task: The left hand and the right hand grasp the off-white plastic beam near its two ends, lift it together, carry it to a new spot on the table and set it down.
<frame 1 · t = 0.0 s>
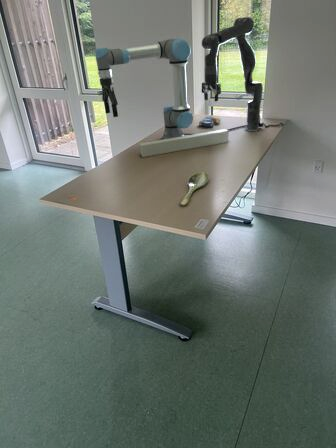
left hand: (111, 114, 206), 28 cm above the table, tool pointing down, fingers open, 13 cm apart
right hand: (211, 100, 212), 29 cm above the table, tool pointing down, fingers open, 8 cm apart
beam: (185, 148, 227), on the table
spoon: (193, 190, 170), on the table
spray gun: (210, 124, 273), on the table
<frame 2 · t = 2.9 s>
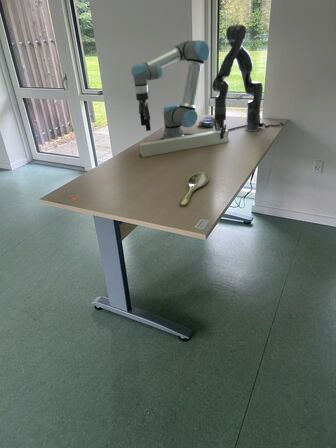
left hand: (145, 127, 212), 18 cm above the table, tool pointing down, fingers open, 13 cm apart
right hand: (220, 137, 231), 3 cm above the table, tool pointing down, fingers closed on beam, 5 cm apart
beam: (185, 148, 227), on the table, touching right hand
everything else where it was.
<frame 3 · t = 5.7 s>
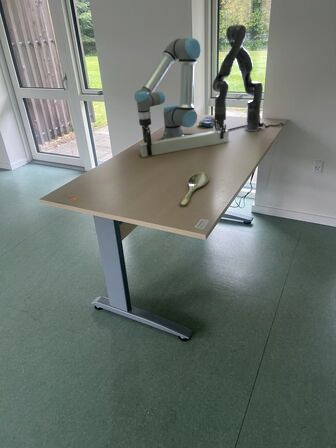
left hand: (148, 153, 221), 1 cm above the table, tool pointing down, fingers closed on beam, 5 cm apart
right hand: (220, 137, 231), 3 cm above the table, tool pointing down, fingers closed on beam, 5 cm apart
beam: (185, 148, 227), on the table, touching left hand, right hand
everything else where it was.
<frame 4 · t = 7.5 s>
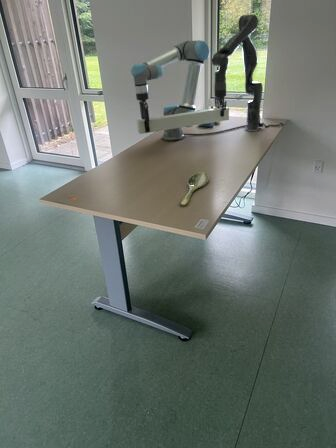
left hand: (146, 130, 214), 16 cm above the table, tool pointing down, fingers closed on beam, 5 cm apart
right hand: (220, 115, 223), 18 cm above the table, tool pointing down, fingers closed on beam, 5 cm apart
beam: (184, 125, 219), point 15 cm above the table, touching left hand, right hand
everything else where it was.
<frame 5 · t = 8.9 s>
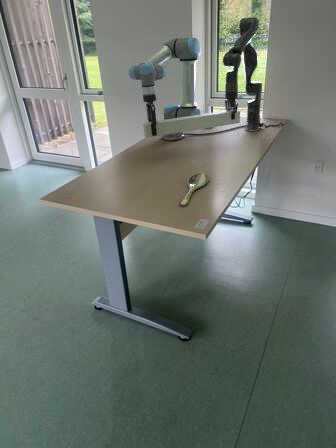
left hand: (153, 134, 202), 17 cm above the table, tool pointing down, fingers closed on beam, 5 cm apart
right hand: (231, 118, 212), 19 cm above the table, tool pointing down, fingers closed on beam, 5 cm apart
beam: (193, 129, 208), point 16 cm above the table, touching left hand, right hand
everything else where it was.
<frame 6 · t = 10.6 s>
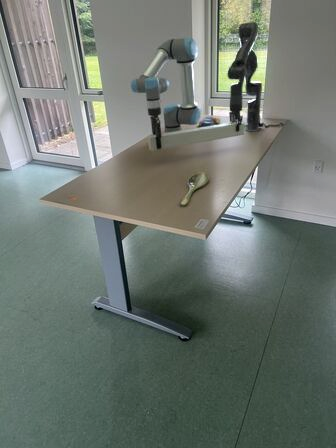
left hand: (157, 147, 202), 10 cm above the table, tool pointing down, fingers closed on beam, 5 cm apart
right hand: (235, 130, 211), 12 cm above the table, tool pointing down, fingers closed on beam, 5 cm apart
beam: (197, 141, 207), point 9 cm above the table, touching left hand, right hand
everything else where it was.
when the left hand's fingers open (2 cm above the table, at t = 12.0 s): beam drops 2 cm, on the table.
when the right hand's fingers open (5 cm above the table, at t = 12.2 s): beam stays where it is, on the table.
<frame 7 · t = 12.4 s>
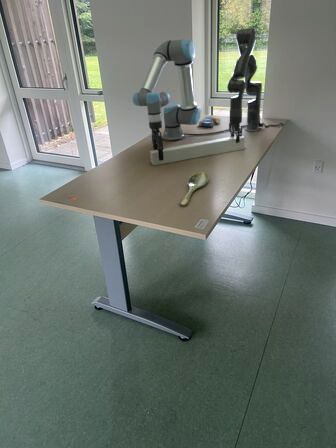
left hand: (158, 157, 205), 4 cm above the table, tool pointing down, fingers open, 11 cm apart
right hand: (235, 141, 215), 5 cm above the table, tool pointing down, fingers open, 6 cm apart
beam: (198, 155, 212), on the table
everything else where it was.
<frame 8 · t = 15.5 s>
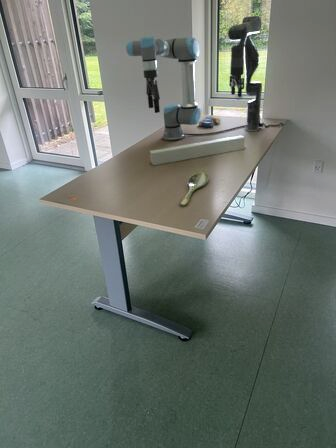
left hand: (154, 110, 190), 32 cm above the table, tool pointing down, fingers open, 13 cm apart
right hand: (236, 95, 200), 33 cm above the table, tool pointing down, fingers open, 8 cm apart
nothing on the table moved.
at the end: beam inside the target area (0.6 cm from its centre), on the table; beam tilted 0°; beam never tilted more than 2° during the clip; both hands held the beam at the same time; the left hand is holding nothing; the right hand is holding nothing; beam at rest at the end (0.0 cm/s) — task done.
